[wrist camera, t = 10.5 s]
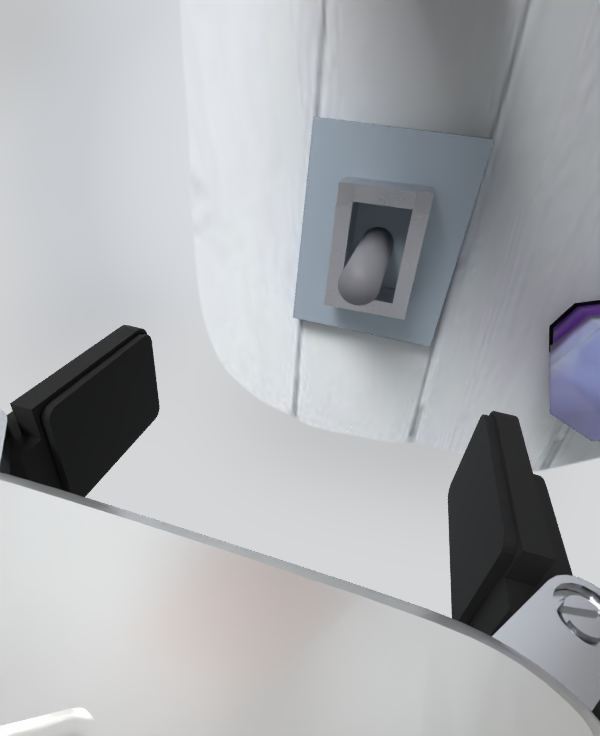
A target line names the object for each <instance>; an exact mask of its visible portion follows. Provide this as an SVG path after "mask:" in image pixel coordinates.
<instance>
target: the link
mask: <svg viewBox="0 0 600 736" xmlns="http://www.w3.org/2000/svg"><path fill="white" fill-rule="evenodd" d="M433 197H434V187H431V186H423V185H415V184H407V183H399V182H390V181H382V180H374V179H366V178H358V177H350V176H347V177H345V178H344V179H342V180H341V181H339V185H338V194H337V202H336V210H335V219H334V227H333V235H332V243H331V252H330V260H329V268H328V277H327V285H326V293H325V301H324V305H327V306H332V307H338V308H343V309H349V310H354V311H360V312H365V313H371V314H376V315H381V316H387V317H392V318H398V319H403V320H404V319H405V315H406V311H407V306H408V302H409V298H410V294H411V289H412V285H413V281H414V277H415V273H416V268H417V264H418V260H419V256H420V251H421V247H422V243H423V239H424V235H425V230H426V226H427V222H428V218H429V213H430V209H431V205H432V201H433ZM359 202H360V203H367V204H375V205H382V206H390V207H397V208H404V209H412V215H411V220H410V224H409V229H408V234H407V238H406V243H405V247H404V252H403V257H402V261H401V266H400V271H399V275H398V280H397V285H396V288H391V287H385V286H381V287H380V291H379V293H378V295H377V297H376V298H375V299H374V300H373V301H372V302H371V303H369V304H366V305H361V306H357V305H353V304H350V303H348V302H347V301H345V300H344V299H343V298H342V296H341V295H340V293H339V290H338V280H339V277H340V275H341V273H342V271H343V270H344V268H345V266H346V265H347V263H348V261H349V260H350V258H351V251H352V245H353V238H354V231H355V224H356V218H357V211H358V204H359Z"/></svg>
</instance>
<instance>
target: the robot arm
mask: <svg viewBox="0 0 600 736" xmlns="http://www.w3.org/2000/svg"><path fill="white" fill-rule="evenodd" d="M10 404H11V407H12V410H13V412H11V413H10V414H8V415H6V414H5V413H4V412H3V411H2V410H0V736H600V589H599V588H598V587H596V586H595V585H594V584H592V583H590V582H588V581H585V580H583V579H581V578H579V577H575V576H573V575H572V572H571V568H570V565H569V562H568V558H567V555H566V551H565V548H564V545H563V541H562V538H561V534H560V531H559V528H558V524H557V521H556V517H555V514H554V511H553V507H552V504H551V501H550V497H549V494H548V490H547V487H546V484H545V481H544V479H543V478H542V477H541V476H538V475H535V474H533V472H532V468H531V464H530V461H529V457H528V453H527V449H526V446H525V442H524V438H523V435H522V431H521V427H520V423H519V420H518V418H517V417H516V416H513V415H508V414H504V413H500V412H496V411H492V412H491V413H490V415H489V416H488V415H482V416H481V418H480V420H479V422H478V424H477V426H476V429H475V431H474V433H473V435H472V438H471V440H470V442H469V444H468V447H467V449H466V451H465V453H464V456H463V458H462V460H461V462H460V465H459V467H458V470H457V471H456V474H455V476H454V478H453V481H452V483H451V485H450V488H449V493H448V513H449V542H450V543H449V544H450V573H451V603H452V619H451V618H449V617H446V616H444V615H441V614H439V613H436V612H434V611H431V610H429V609H426V608H423V607H420V606H417V605H414V604H411V603H408V602H405V601H402V600H400V599H397V598H394V597H391V596H388V595H385V594H382V593H379V592H376V591H374V590H371V589H368V588H365V587H361V586H359V585H356V584H353V583H350V582H347V581H344V580H341V579H338V578H335V577H332V576H328V575H325V574H322V573H319V572H316V571H313V570H310V569H307V568H304V567H301V566H298V565H295V564H292V563H288V562H286V561H283V560H279V559H276V558H273V557H270V556H267V555H264V554H261V553H258V552H255V551H252V550H249V549H245V548H242V547H239V546H236V545H233V544H230V543H227V542H223V541H221V540H218V539H214V538H211V537H208V536H205V535H202V534H199V533H195V532H193V531H189V530H186V529H183V528H180V527H177V526H174V525H171V524H167V523H164V522H161V521H158V520H155V519H152V518H149V517H146V516H143V515H139V514H136V513H133V512H130V511H127V510H123V509H120V508H117V507H114V506H111V505H107V504H104V503H101V502H98V501H95V500H91V499H88V498H85V496H86V495H87V494H88V493H89V492H90V491H91V490H92V489H93V487H94V486H95V485H96V484H97V483H98V482H99V481H100V480H101V479H102V477H103V476H104V475H105V474H106V473H107V472H108V471H109V470H110V469H111V467H112V466H113V465H114V464H115V463H116V462H117V461H118V460H119V459H120V457H121V456H122V455H123V454H124V453H125V452H126V451H127V450H128V448H129V447H130V446H131V445H132V444H133V443H134V442H135V441H136V440H137V439H138V437H139V436H140V435H141V434H142V433H143V432H144V431H145V430H146V428H147V427H148V426H149V425H150V424H151V423H152V422H153V421H154V420H155V418H156V417H157V415H158V412H159V399H158V391H157V382H156V374H155V365H154V357H153V348H152V340H151V338H150V336H149V335H147V333H146V331H145V330H144V329H140V328H137V327H132V326H128V325H123V326H121V327H120V328H118V329H117V330H115V331H114V332H112V333H111V334H110V335H108V336H107V337H105V338H104V339H102V340H101V341H100V342H98V343H97V344H95V345H94V346H93V347H91V348H89V349H88V350H87V351H85V352H84V353H82V354H81V355H79V356H78V357H77V358H75V359H74V360H72V361H71V362H69V363H68V364H66V365H65V366H64V367H62V368H61V369H59V370H58V371H56V372H55V373H54V374H52V375H51V376H49V377H48V378H46V379H45V380H43V381H42V382H41V383H39V384H38V385H36V386H35V387H33V388H32V389H31V390H29V391H28V392H26V393H25V394H23V395H22V396H20V397H19V398H18V399H16V400H15V401H13V402H12V403H10Z"/></svg>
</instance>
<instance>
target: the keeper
mask: <svg viewBox="0 0 600 736" xmlns="http://www.w3.org/2000/svg"><path fill="white" fill-rule="evenodd" d="M493 144H494V140H493V139H487V138H479V137H471V136H463V135H455V134H447V133H439V132H431V131H423V130H415V129H407V128H399V127H391V126H384V125H376V124H368V123H360V122H352V121H344V120H336V119H328V118H320V117H314V118H313V128H312V138H311V147H310V157H309V167H308V176H307V186H306V196H305V206H304V215H303V225H302V235H301V245H300V254H299V264H298V274H297V283H296V293H295V303H294V313H293V318H297V319H302V320H307V321H311V322H316V323H321V324H325V325H330V326H335V327H339V328H344V329H349V330H353V331H358V332H363V333H368V334H372V335H377V336H382V337H386V338H391V339H396V340H400V341H405V342H410V343H414V344H419V345H424V346H428V347H430V345H431V342H432V339H433V336H434V333H435V329H436V326H437V323H438V320H439V317H440V313H441V310H442V307H443V304H444V301H445V297H446V294H447V291H448V288H449V285H450V281H451V278H452V275H453V272H454V269H455V265H456V262H457V259H458V256H459V252H460V249H461V246H462V243H463V240H464V236H465V233H466V230H467V227H468V224H469V220H470V217H471V214H472V211H473V208H474V204H475V201H476V198H477V195H478V192H479V188H480V185H481V182H482V179H483V176H484V172H485V169H486V166H487V163H488V160H489V156H490V153H491V150H492V147H493ZM347 176H350V177H358V178H366V179H374V180H382V181H390V182H399V183H407V184H415V185H423V186H431V187H434V197H433V201H432V205H431V209H430V213H429V218H428V222H427V226H426V230H425V235H424V239H423V243H422V247H421V251H420V256H419V260H418V264H417V268H416V273H415V277H414V281H413V285H412V289H411V294H410V298H409V302H408V306H407V311H406V315H405V319H404V320H403V319H398V318H392V317H387V316H381V315H376V314H371V313H365V312H360V311H354V310H349V309H343V308H338V307H332V306H327V305H324V301H325V293H326V285H327V277H328V268H329V260H330V252H331V243H332V235H333V227H334V219H335V210H336V202H337V194H338V185H339V181H341V180H342V179H344V178H345V177H347ZM411 215H412V209H404V208H397V207H390V206H382V205H375V204H367V203H360V202H359V204H358V211H357V218H356V224H355V231H354V238H353V245H352V251H351V258H350V260H349V261H348V263H347V265H346V266H345V268H344V270H343V271H342V273H341V275H340V277H339V280H338V290H339V293H340V295H341V296H342V298H343V299H344V300H345V301H347V302H348V303H350V304H353V305H357V306H361V305H366V304H369V303H371V302H372V301H373V300H374V299H375V298H376V297H377V295H378V293H379V291H380V287H381V286H385V287H391V288H396V285H397V280H398V275H399V271H400V266H401V261H402V257H403V252H404V247H405V243H406V238H407V234H408V229H409V224H410V220H411Z"/></svg>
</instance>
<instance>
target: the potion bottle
mask: <svg viewBox="0 0 600 736" xmlns="http://www.w3.org/2000/svg"><path fill="white" fill-rule="evenodd" d="M549 352H550V413H551V414H552V415H554V416H555V417H556V418H558V419H559V420H561V421H562V422H564V423H565V424H567V425H568V426H570V427H571V428H573V429H574V430H576V431H577V432H579V433H580V434H582V435H583V436H585V437H586V438H588V439H589V440H591V441H600V300H598V301H590V302H582V303H575V304H574V305H572V306H571V307H570V308H569V309H568V310H567V311H566V312H565V313H564V314H562V315H561V316H560V317H559V318H558V319H557V320H556V321H555V322H554V323H552V324H551V325H550V330H549Z"/></svg>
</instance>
